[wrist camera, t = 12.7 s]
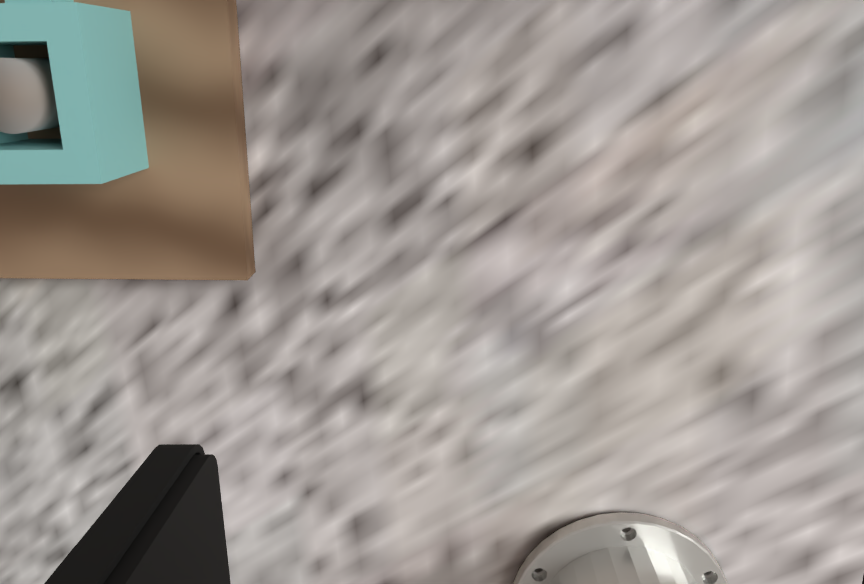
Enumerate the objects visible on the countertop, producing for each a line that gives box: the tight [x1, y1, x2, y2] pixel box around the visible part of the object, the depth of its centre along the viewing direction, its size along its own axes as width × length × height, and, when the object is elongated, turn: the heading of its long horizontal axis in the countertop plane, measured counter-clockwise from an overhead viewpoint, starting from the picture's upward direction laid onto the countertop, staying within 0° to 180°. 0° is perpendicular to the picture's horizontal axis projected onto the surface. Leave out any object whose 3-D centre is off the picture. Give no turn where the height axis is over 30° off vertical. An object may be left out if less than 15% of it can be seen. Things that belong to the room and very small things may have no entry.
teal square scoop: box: [0, 0, 149, 184], centre depth 31 cm, size 13×7×5 cm, turn 1°
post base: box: [0, 0, 255, 280], centre depth 33 cm, size 18×16×6 cm
